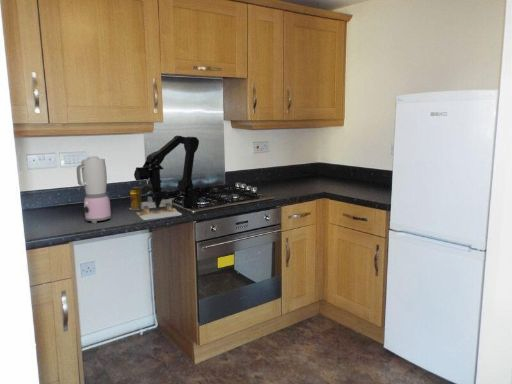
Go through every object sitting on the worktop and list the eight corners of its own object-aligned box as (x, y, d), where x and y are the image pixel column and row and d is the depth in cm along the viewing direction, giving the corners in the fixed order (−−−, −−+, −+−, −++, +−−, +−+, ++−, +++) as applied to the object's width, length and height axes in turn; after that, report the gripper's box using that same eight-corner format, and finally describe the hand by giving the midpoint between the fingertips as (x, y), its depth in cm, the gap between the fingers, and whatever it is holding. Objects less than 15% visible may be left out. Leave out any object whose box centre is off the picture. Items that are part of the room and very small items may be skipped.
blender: (101, 216, 224) (96, 155, 218) (116, 219, 217) (111, 156, 211) (74, 222, 211) (67, 158, 205) (89, 226, 205) (83, 159, 198)
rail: (170, 204, 233) (170, 199, 232) (172, 205, 230) (171, 200, 230) (140, 208, 225) (140, 202, 225) (142, 209, 223) (141, 203, 222)
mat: (177, 212, 230) (177, 210, 230) (181, 215, 223) (181, 214, 223) (139, 216, 221) (139, 215, 221) (143, 220, 214) (143, 219, 214)
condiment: (127, 209, 239) (126, 188, 237) (137, 206, 247) (136, 185, 244) (138, 210, 236) (136, 188, 234) (147, 207, 244) (146, 186, 241)
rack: (173, 209, 236) (173, 201, 235) (176, 211, 231) (176, 203, 230) (136, 214, 227) (136, 205, 226) (139, 216, 221) (138, 207, 220)
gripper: (135, 177, 229) (137, 205, 232) (143, 182, 213) (145, 212, 216) (155, 175, 235) (157, 203, 237) (165, 180, 218) (167, 210, 221)
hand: (156, 207), depth 228 cm, fingers closed on rail, 3 cm apart
